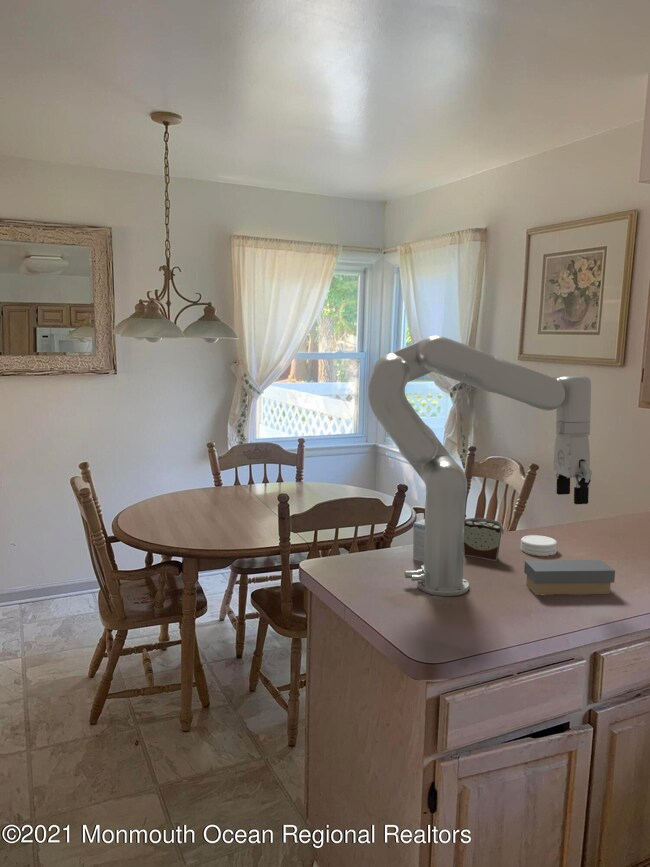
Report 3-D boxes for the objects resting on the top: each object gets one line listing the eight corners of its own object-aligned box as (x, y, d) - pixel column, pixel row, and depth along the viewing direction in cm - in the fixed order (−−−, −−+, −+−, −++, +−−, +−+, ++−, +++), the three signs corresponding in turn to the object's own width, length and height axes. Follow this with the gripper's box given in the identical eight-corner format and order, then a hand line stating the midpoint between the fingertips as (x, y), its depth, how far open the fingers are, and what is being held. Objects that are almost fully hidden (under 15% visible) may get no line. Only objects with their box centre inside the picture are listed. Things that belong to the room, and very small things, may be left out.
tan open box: (536, 596, 151) (537, 572, 150) (526, 586, 157) (527, 562, 156) (609, 594, 152) (611, 570, 151) (597, 584, 158) (598, 561, 157)
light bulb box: (431, 550, 184) (431, 514, 183) (452, 554, 180) (452, 518, 178) (411, 559, 176) (412, 522, 175) (433, 565, 172) (433, 526, 170)
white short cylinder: (513, 548, 186) (513, 537, 185) (539, 544, 190) (539, 532, 190) (537, 559, 177) (538, 546, 176) (564, 554, 181) (565, 542, 181)
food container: (508, 555, 179) (509, 521, 178) (501, 562, 174) (503, 526, 172) (466, 548, 186) (467, 515, 184) (459, 554, 180) (460, 520, 179)
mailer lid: (534, 583, 150) (535, 571, 150) (524, 572, 158) (524, 560, 157) (614, 582, 151) (615, 570, 150) (600, 571, 158) (600, 559, 158)
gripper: (543, 424, 158) (542, 491, 160) (573, 434, 141) (572, 508, 143) (572, 423, 158) (571, 490, 160) (606, 432, 141) (604, 507, 143)
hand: (571, 498), depth 152 cm, fingers open, 9 cm apart
